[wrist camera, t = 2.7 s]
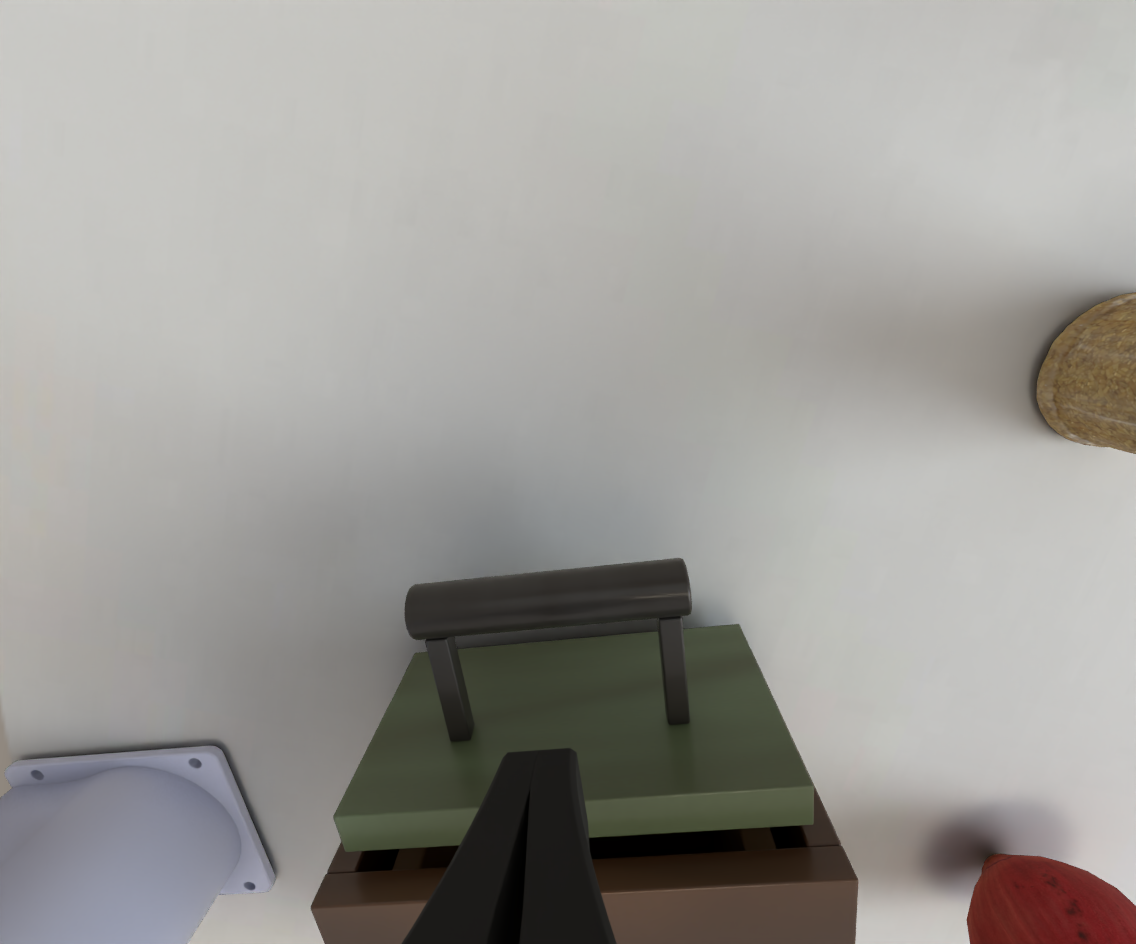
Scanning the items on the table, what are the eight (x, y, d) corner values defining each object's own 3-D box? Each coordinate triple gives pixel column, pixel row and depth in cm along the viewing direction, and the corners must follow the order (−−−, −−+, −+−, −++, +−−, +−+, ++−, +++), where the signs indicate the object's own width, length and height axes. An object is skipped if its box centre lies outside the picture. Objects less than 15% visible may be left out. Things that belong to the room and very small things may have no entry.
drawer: (383, 532, 17) (273, 654, 11) (734, 494, 16) (817, 605, 10) (483, 913, 23) (444, 1132, 17) (750, 900, 22) (810, 1127, 16)
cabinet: (416, 675, 20) (309, 907, 12) (750, 647, 19) (859, 880, 11) (485, 934, 24) (436, 1224, 17) (759, 922, 23) (842, 1224, 16)
